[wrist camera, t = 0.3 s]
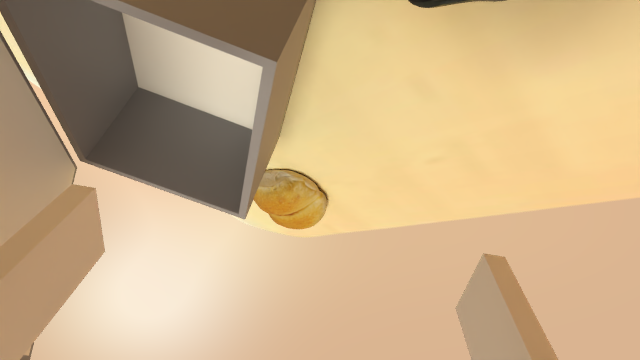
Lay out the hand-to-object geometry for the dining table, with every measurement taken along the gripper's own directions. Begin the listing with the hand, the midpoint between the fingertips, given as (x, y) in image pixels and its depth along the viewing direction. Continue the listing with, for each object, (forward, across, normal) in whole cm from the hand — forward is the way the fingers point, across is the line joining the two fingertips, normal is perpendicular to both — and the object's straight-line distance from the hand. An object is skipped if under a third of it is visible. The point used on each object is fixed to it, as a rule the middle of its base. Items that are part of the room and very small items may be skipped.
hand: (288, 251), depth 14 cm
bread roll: (+28, -1, -15) cm, 32 cm away
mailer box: (+20, -9, +2) cm, 22 cm away
